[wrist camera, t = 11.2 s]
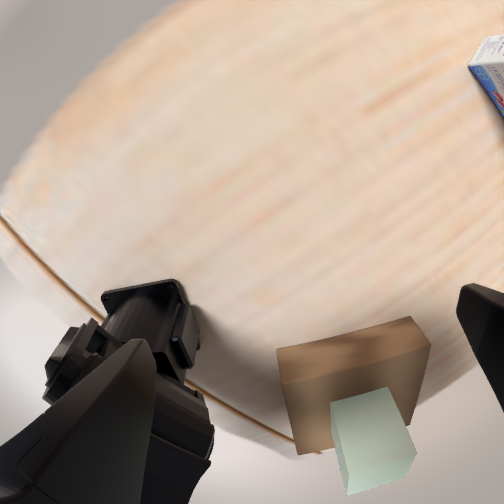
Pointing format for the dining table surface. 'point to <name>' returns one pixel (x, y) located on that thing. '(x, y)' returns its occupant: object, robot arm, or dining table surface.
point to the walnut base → (350, 376)
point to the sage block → (370, 440)
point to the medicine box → (491, 68)
